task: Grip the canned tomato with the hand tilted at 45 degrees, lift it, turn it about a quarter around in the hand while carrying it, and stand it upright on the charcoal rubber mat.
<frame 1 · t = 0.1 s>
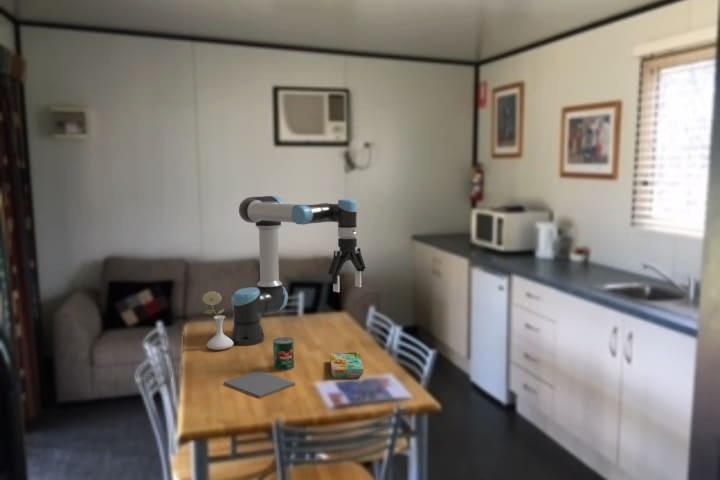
hand: (347, 289, 237), 28 cm above the table, tool pointing down, fingers open, 13 cm apart
canned tomato: (283, 368, 226), on the table
puzzle game: (346, 370, 224), on the table
flower in vase: (218, 348, 252), on the table
mat: (259, 384, 208), on the table
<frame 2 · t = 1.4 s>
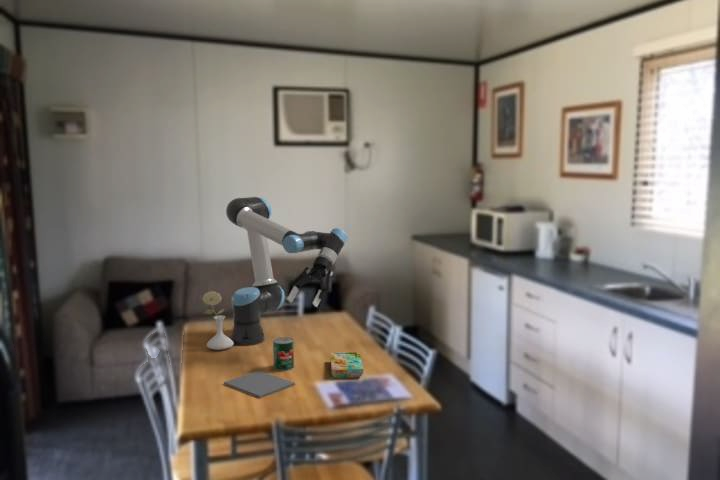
hand: (301, 303, 232), 24 cm above the table, tool tilted 45°, fingers open, 13 cm apart
nothing on the table moved.
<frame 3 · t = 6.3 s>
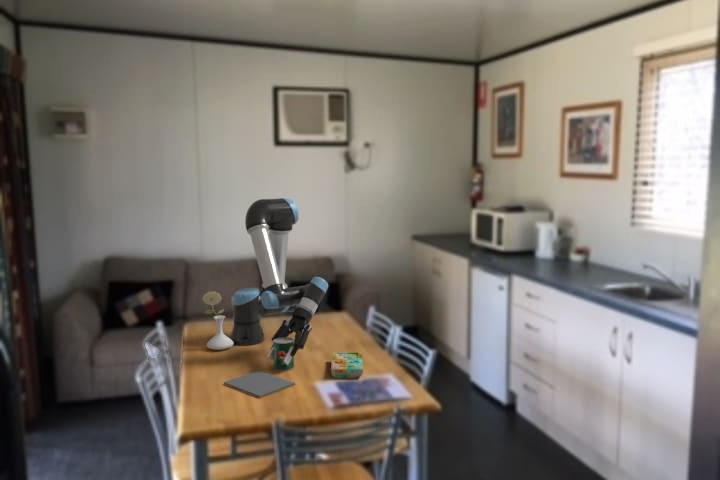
hand: (277, 360, 223), 4 cm above the table, tool tilted 45°, fingers closed on canned tomato, 8 cm apart
canned tomato: (283, 368, 226), on the table, touching gripper
everything else where it was.
when the fingers open (6 cm above the table, at t = 11.8 s): canned tomato drops 2 cm, resting on mat.
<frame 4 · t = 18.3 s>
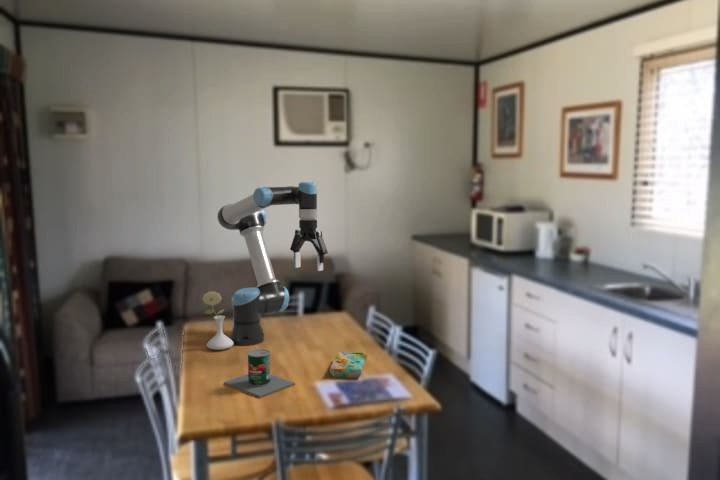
hand: (308, 269, 247), 35 cm above the table, tool pointing down, fingers open, 13 cm apart
canned tomato: (259, 383, 208), point 1 cm above the table, touching mat
at the end: canned tomato inside the target area on the mat (0.2 cm from its centre), point 0.6 cm above the mat's base; canned tomato tilted 0°; the gripper is holding nothing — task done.
